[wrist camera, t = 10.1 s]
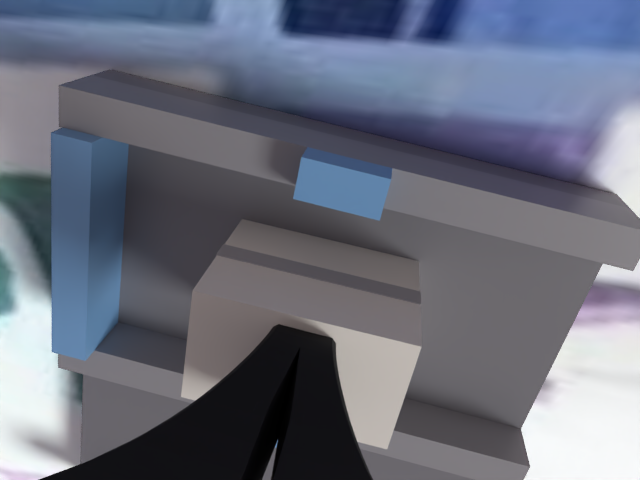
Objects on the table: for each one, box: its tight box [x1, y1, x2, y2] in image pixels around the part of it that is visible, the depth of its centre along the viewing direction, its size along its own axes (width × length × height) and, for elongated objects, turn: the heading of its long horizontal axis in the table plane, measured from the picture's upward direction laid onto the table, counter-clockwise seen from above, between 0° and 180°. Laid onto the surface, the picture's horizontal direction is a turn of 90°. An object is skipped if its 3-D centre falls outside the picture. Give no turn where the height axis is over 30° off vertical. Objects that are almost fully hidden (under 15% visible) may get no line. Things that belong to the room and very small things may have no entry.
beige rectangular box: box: [181, 219, 422, 449], centre depth 14 cm, size 5×3×4 cm, turn 79°
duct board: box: [51, 70, 640, 480], centre depth 17 cm, size 14×16×3 cm
